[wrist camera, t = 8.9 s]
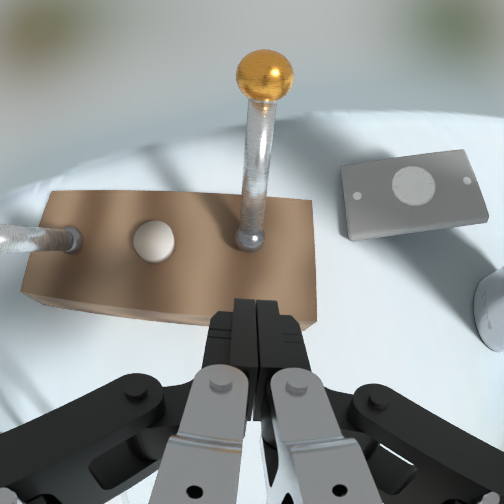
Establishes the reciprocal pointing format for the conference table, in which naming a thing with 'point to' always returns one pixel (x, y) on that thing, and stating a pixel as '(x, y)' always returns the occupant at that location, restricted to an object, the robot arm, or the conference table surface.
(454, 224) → the light switch
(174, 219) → the switch panel
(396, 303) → the conference table surface
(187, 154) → the conference table surface
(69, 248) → the lever black
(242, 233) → the lever orange
